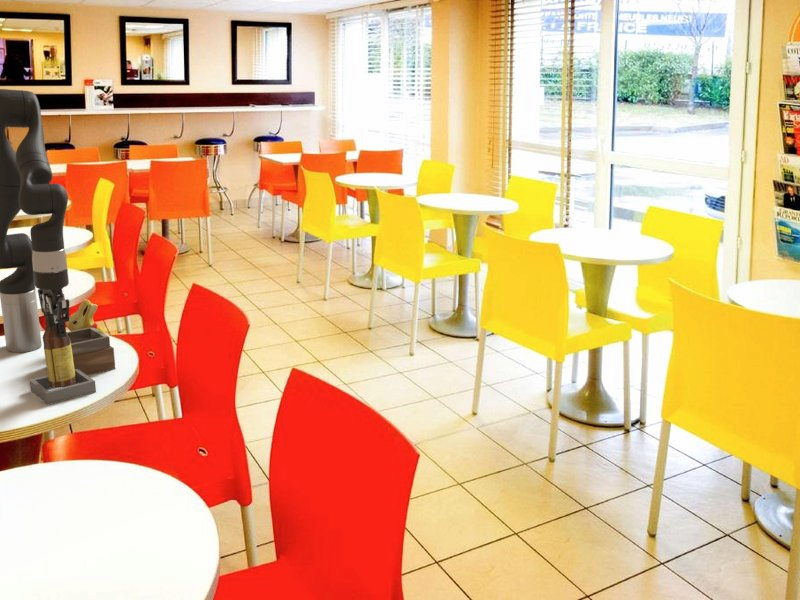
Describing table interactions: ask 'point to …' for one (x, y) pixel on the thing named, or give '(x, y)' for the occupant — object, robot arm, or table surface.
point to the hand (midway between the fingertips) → (57, 333)
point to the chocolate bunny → (83, 317)
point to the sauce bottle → (57, 355)
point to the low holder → (65, 393)
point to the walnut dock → (91, 351)
